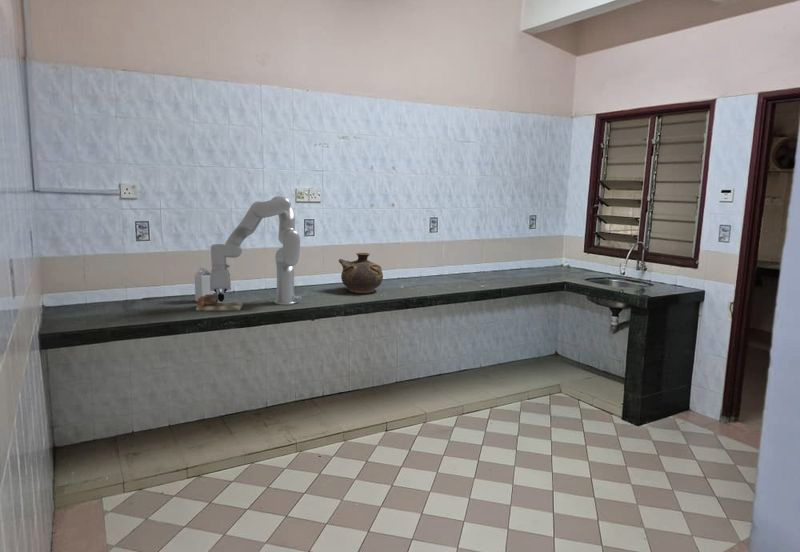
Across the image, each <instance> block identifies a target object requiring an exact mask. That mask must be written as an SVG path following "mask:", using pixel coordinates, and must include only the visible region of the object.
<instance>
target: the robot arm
mask: <svg viewBox="0 0 800 552" xmlns="http://www.w3.org/2000/svg"><path fill="white" fill-rule="evenodd" d="M291 203H292V202H291V201H290V199H289V198H287V197H285V196H280V195H279V196H278V195H277V196H274V197H272V198H271V199H270V200H265V201H260V200H258V201H255V202H253V203H252V204H251V205H250V207H249V208H248V211H247V212H246V213H245V215H244V216H243V218H242V219H241V221H240V223H239V224H238V225H237V226H236V228H235V229H234V230H232V233H231V234H230V235H229V236H228V238H227V240H226V242H225V243H224V244H222V243H214V244H211V245H210V258H211V259H210V261H211V270H210V271H209V273H210V291H213V292H214V293H215V294H218V301H219V302H218V303H224V300H225V294H226V292H227V291H231V290H232V287H231V276H230V275H231V274H230V271H229V268H231V267H230V265H229V264H228V263H227V258H234V259H236V258H238V257H240V256H241V255H242V251H243V250H242V249H243V248H242V247H241V245H242V244H243V242H244V241H245V240H246V238H247V237H249V236H251V235H252V234H254V233H255V231H256V230H257V228H258V227H259V225H260V223H261V222H262V221H263V219H265V218H270V217H271V218H272V217H274V216H278V222H279V223H278V225H279V226H278V236H277V237H278V238H277V239H278V241H279V242H280V244H282V247H280V248H279V249H277V251H276V252H275V264H276V299H274V300H273V303H274V304H276V305H282V306H283V305H284V306H285V305H286V306H289V305H295V304H296V303H297V300H298V301H301V300H303V296H301V295H296V294H295V268H294V266H296V265H297V264H298V262H299V260H300V254H301V253H300V251H301V249H300V248H301V237H300V233H299V232H298V231H296V229H295V227H296V225H295V224H296V217H295V213H294V210H293V208H292V205H291Z"/></svg>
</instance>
